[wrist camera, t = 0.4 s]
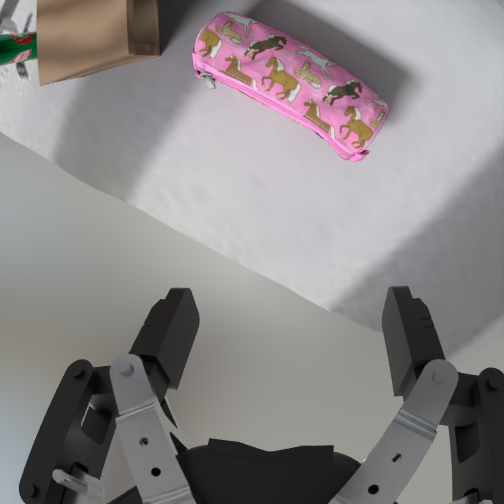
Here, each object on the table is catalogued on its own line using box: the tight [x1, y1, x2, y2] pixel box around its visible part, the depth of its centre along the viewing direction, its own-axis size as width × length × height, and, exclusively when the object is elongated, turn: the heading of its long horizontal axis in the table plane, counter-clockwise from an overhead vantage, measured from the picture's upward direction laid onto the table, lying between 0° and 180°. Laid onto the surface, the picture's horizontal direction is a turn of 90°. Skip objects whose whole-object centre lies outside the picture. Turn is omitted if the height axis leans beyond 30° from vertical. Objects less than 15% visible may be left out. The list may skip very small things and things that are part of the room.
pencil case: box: [192, 11, 389, 162], centre depth 27 cm, size 21×9×9 cm, turn 63°
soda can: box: [0, 32, 38, 66], centre depth 24 cm, size 5×5×12 cm
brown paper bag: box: [37, 0, 160, 86], centre depth 22 cm, size 20×14×9 cm
